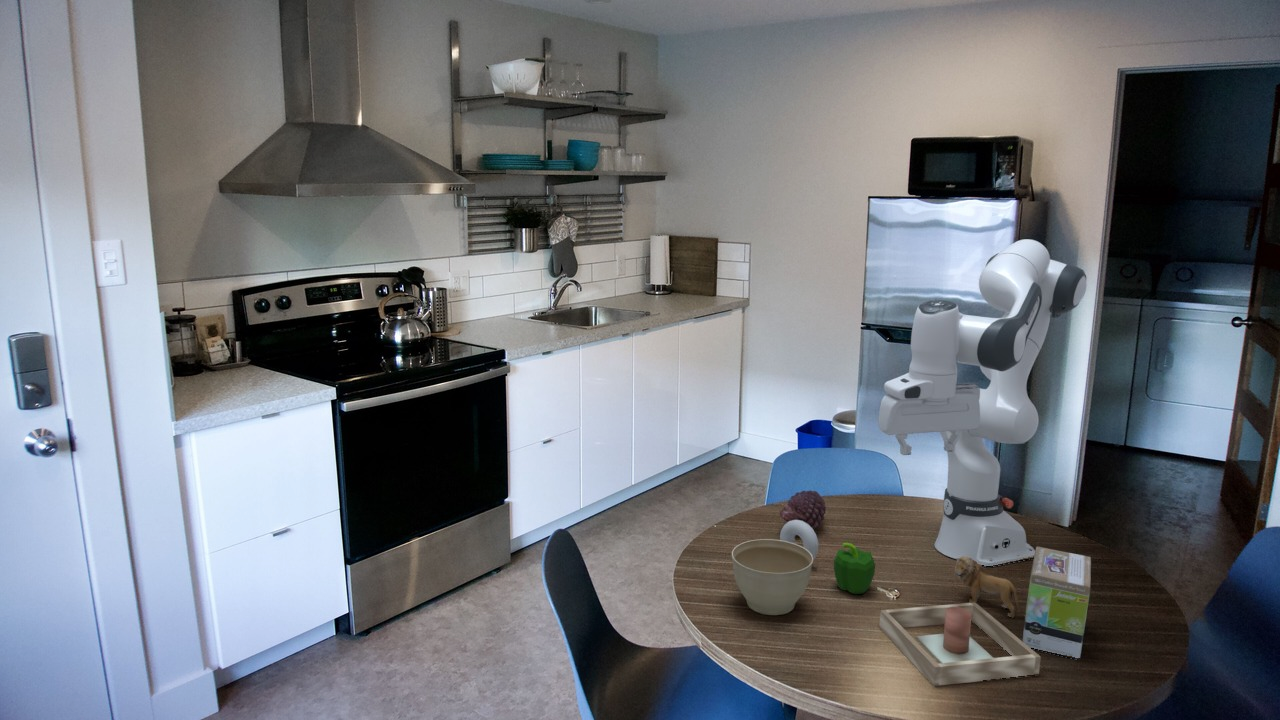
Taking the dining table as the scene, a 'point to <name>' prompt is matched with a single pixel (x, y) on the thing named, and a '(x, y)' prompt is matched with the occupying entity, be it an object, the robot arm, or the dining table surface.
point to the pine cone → (805, 508)
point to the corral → (954, 665)
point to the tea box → (1057, 602)
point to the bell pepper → (854, 569)
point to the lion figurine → (986, 583)
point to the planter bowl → (771, 574)
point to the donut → (800, 535)
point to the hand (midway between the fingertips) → (927, 452)
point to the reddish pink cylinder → (957, 630)
